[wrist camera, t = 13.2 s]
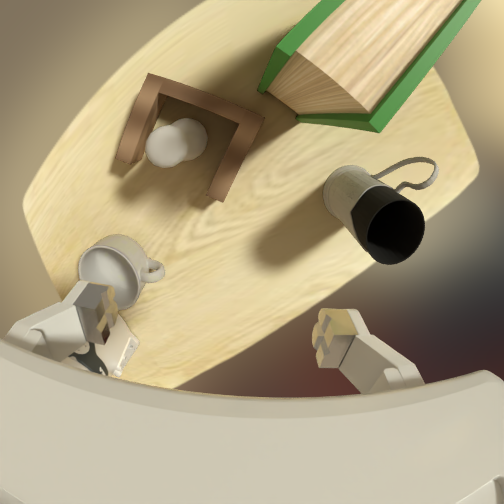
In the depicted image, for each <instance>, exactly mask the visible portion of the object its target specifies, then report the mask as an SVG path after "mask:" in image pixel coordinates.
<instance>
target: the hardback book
mask: <svg viewBox="0 0 504 504" xmlns="http://www.w3.org/2000/svg"><path fill="white" fill-rule="evenodd" d="M480 1H481V0H321V1H320V2H319V3H318V4H317V5H316V6H315V7H314V8H313V9H312V10H311V11H310V12H309V13H308V14H307V15H306V16H305V17H304V18H303V19H302V20H301V21H300V22H299V23H298V24H297V25H296V26H295V27H294V28H293V29H292V30H291V31H290V32H289V33H288V34H287V35H286V36H285V37H284V38H283V39H282V40H281V41H280V42H279V43H278V45H277V46H276V47H275V50H274V52H273V54H272V56H271V59H270V61H269V63H268V66H267V68H266V70H265V73H264V75H263V77H262V80H261V82H260V85H259V87H258V89H257V91H259V92H260V93H261V94H263V93H264V92H265V91H268V92H269V93H271V94H272V95H274V96H275V97H276V98H278V99H279V100H280V101H282V102H283V103H284V104H286V105H287V106H288V107H290V108H291V109H292V110H294V111H295V112H296V113H298V114H299V115H298V116H297V117H296V118H295V119H297V120H298V121H299V122H301V123H311V124H321V125H330V126H338V127H345V128H352V129H358V130H365V131H370V132H376V133H380V132H381V131H382V130H383V129H384V127H385V126H386V125H387V124H388V122H389V121H390V120H391V119H392V117H393V116H394V115H395V114H396V112H397V111H398V110H399V109H400V107H401V106H402V105H403V103H404V102H405V101H406V100H407V98H408V97H409V96H410V95H411V93H412V92H413V91H414V90H415V88H416V87H417V86H418V84H419V83H420V82H421V81H422V79H423V78H424V77H425V75H426V74H427V73H428V71H429V70H430V69H431V68H432V66H433V65H434V63H435V62H436V61H437V60H438V58H439V57H440V56H441V54H442V53H443V52H444V50H445V49H446V48H447V46H448V45H449V44H450V43H451V41H452V40H453V39H454V37H455V36H456V35H457V33H458V32H459V30H460V29H461V28H462V26H463V25H464V24H465V22H466V21H467V19H468V18H469V17H470V15H471V14H472V13H473V11H474V10H475V8H476V7H477V5H478V4H479V3H480Z"/></svg>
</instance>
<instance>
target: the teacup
mask: <svg viewBox="0 0 504 504" xmlns="http://www.w3.org/2000/svg"><path fill="white" fill-rule="evenodd" d="M149 268H150V269H154V270H156V271H154V272H151V273H149ZM78 272H79V278H80V280H84V281H89V282H95V283H100V284H105V285H111V286H113V287H114V290H115V296H114V298H113V300H114V301H115V302H116V303H117V307H118V310H124V309H128V308H130V307H131V306H132V305H133V304H135V302H136V301H137V300H138V298H139V295H140V293H141V291H142V289H143V287H144V286H145V284H146V283H154V282H157V281H159V280H161V279H162V278H163V277H164V275H165V269H164V266H163V264H162V263H160V262H158V261H155V260H152V259H151V258H148V257H147V255H146V253H145V251H144V250H143V248H142V247H141V246H140V245H139V244H138V243H137V242H136V241H135V240H133V239H132V238H130V237H128V236H125V235H119V234H114V235H109V236H107V237H105V238H103V239H101V240H100V241H98V242H97V243H96V244H94V245H93V246H92V247H90V248H89V249H87V250H86V251H85V252H84V253H83V254H82V256H81V258H80V261H79V269H78Z"/></svg>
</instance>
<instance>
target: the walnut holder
mask: <svg viewBox="0 0 504 504" xmlns="http://www.w3.org/2000/svg"><path fill="white" fill-rule="evenodd" d="M167 95H168V96H171V97H174V98H176V99H179V100H182V101H185V102H187V103H190V104H193V105H195V106H198V107H200V108H203V109H206V110H208V111H211V112H213V113H215V114H218V115H220V116H223V117H225V118H227V119H230V120H232V121H234V122H237V123H239V126H238V128H237V130H236V132H235V134H234V136H233V138H232V140H231V142H230V144H229V146H228V148H227V151H226V153H225V155H224V157H223V159H222V161H221V163H220V165H219V168H218V170H217V172H216V174H215V176H214V178H213V181H212V183H211V185H210V187H209V190H208V192H207V194H206V196H209V197H211V198H213V199H216V200H218V201H220V202H222V203H223V202H224V200H225V198H226V196H227V194H228V191H229V189H230V187H231V185H232V183H233V181H234V179H235V177H236V175H237V173H238V171H239V169H240V166H241V164H242V162H243V160H244V158H245V156H246V154H247V152H248V150H249V148H250V146H251V144H252V142H253V140H254V138H255V136H256V134H257V132H258V131H259V129H260V127H261V125H262V123H263V121H264V119H265V117H262V116H260V115H258V114H256V113H254V112H252V111H249V110H247V109H245V108H243V107H240V106H238V105H236V104H233V103H231V102H229V101H226V100H224V99H221V98H219V97H216V96H214V95H211V94H209V93H206V92H204V91H201V90H198V89H196V88H193V87H190V86H187V85H184V84H182V83H179V82H176V81H173V80H170V79H167V78H163V77H160V76H157V75H154V74H150V73H148V75H147V77H146V79H145V81H144V84H143V86H142V88H141V90H140V93H139V95H138V97H137V100H136V102H135V105H134V107H133V110H132V112H131V115H130V117H129V120H128V123H127V125H126V128H125V131H124V134H123V136H122V139H121V142H120V145H119V148H118V151H117V154H116V158H115V159H118V160H120V161H123V162H126V163H128V164H132V163H134V162H136V161H138V160H141V159H142V157H143V154H144V152H145V146H146V141H147V139H148V137H149V135H150V133H152V131H153V128H154V126H155V123H156V121H157V118H158V116H159V114H160V111H161V109H162V107H163V104H164V102H165V100H166V98H167Z"/></svg>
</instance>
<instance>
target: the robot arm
mask: <svg viewBox="0 0 504 504" xmlns="http://www.w3.org/2000/svg"><path fill="white" fill-rule="evenodd" d="M114 296H115V290H114V287H113V286H111V285H105V284H100V283H95V282H89V281H84V280H80V281H78V282H77V283H76V285H75V286H74V287H73V288H72V290H71V291H70V292H69V294H68V295H67V296H66V297H65V299H64V300H63V301H62V302H57V303H55V304H53V305H51V306H49V307H47V308H44V309H42V310H40V311H38V312H36V313H34V314H32V315H30V316H28V317H26V318H23V319H21V320H19V321H17V322H16V323H15V324H14V325H13V327H12V328H11V329H10V331H9V332H8V333H7V335H6V336H5V338H4V339H3V340H2V339H0V504H504V381H503V380H502V379H500V378H498V377H497V376H496V375H494V374H493V373H491V372H489V371H487V370H481V371H477V372H474V373H471V374H467V375H463V376H459V377H456V378H452V379H447V380H443V381H439V382H434V383H430V384H425V383H424V381H423V379H422V378H421V376H420V374H419V372H418V370H417V368H416V366H415V364H413V363H412V362H410V361H409V360H408V359H406V358H405V357H403V356H402V355H401V354H399V353H398V352H396V351H395V350H393V349H392V348H391V347H389V346H388V345H387V344H385V343H384V342H382V341H381V340H379V339H378V338H377V337H375V336H374V335H370V333H369V331H368V329H367V327H366V325H365V323H364V321H363V319H362V317H361V315H360V313H359V312H358V310H356V309H323V308H322V309H321V310H320V312H319V315H318V318H319V322H318V323H317V324H315V326H314V329H313V333H312V342H313V347H314V348H315V349H316V350H317V354H316V358H317V362H318V366H319V368H339V370H340V371H341V372H342V373H343V374H344V375H345V376H346V377H347V378H348V379H349V380H350V381H351V383H352V384H353V385H354V386H355V387H356V388H357V389H358V390H359V391H360V392H361V393H362V394H357V395H345V396H331V397H308V398H264V397H243V396H228V395H216V394H206V393H198V392H189V391H182V390H175V389H169V388H163V387H157V386H151V385H146V384H141V383H136V382H131V381H126V380H122V379H118V378H113V377H111V376H112V375H115V376H117V377H120V376H121V373H122V371H123V368H124V367H125V365H126V364H127V362H128V361H129V359H130V358H131V356H132V355H133V353H134V352H135V350H136V349H137V347H138V345H139V344H140V342H139V340H138V339H137V338H136V337H135V336H134V335H133V334H132V333H131V332H130V330H129V328H128V326H127V324H126V323H125V321H124V320H123V319H122V317H121V316H120V315H119V314H118V307H117V303H116V302H115V301H114V300H113V298H114Z"/></svg>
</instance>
